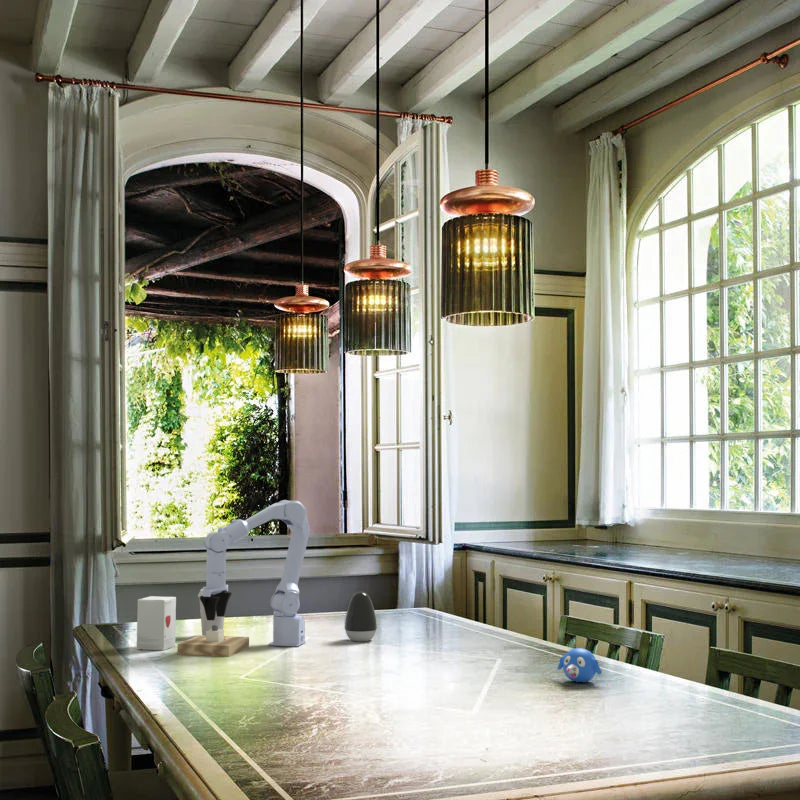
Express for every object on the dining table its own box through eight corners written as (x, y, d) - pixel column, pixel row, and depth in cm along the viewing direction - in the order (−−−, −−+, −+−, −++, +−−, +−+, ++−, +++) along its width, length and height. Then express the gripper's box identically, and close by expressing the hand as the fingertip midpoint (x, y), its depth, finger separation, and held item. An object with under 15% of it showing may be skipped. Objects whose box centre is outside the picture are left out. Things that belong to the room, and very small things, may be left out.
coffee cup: (224, 638, 330) (224, 591, 331) (194, 638, 330) (195, 591, 331) (229, 633, 339) (230, 587, 340) (200, 633, 340) (201, 587, 341)
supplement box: (163, 650, 308) (164, 600, 309) (135, 650, 310) (136, 599, 311) (176, 645, 317) (177, 596, 318) (149, 644, 318) (149, 595, 319)
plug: (223, 650, 309) (223, 624, 310) (218, 652, 306) (218, 626, 306) (211, 649, 310) (211, 624, 311) (205, 651, 306) (205, 626, 307)
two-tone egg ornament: (378, 638, 331) (378, 589, 332) (374, 643, 320) (374, 593, 321) (347, 637, 332) (347, 589, 333) (342, 642, 321) (342, 593, 322)
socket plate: (249, 647, 314) (249, 637, 314) (229, 656, 298) (229, 645, 299) (199, 645, 318) (199, 635, 318) (177, 654, 302) (177, 643, 302)
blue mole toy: (544, 684, 259) (544, 650, 259) (565, 676, 268) (564, 643, 269) (589, 690, 252) (589, 655, 252) (608, 682, 262) (608, 648, 262)
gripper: (213, 569, 318) (212, 614, 317) (193, 574, 304) (193, 621, 303) (234, 570, 317) (234, 615, 316) (216, 575, 302) (215, 622, 301)
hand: (215, 618), depth 309 cm, fingers open, 7 cm apart
